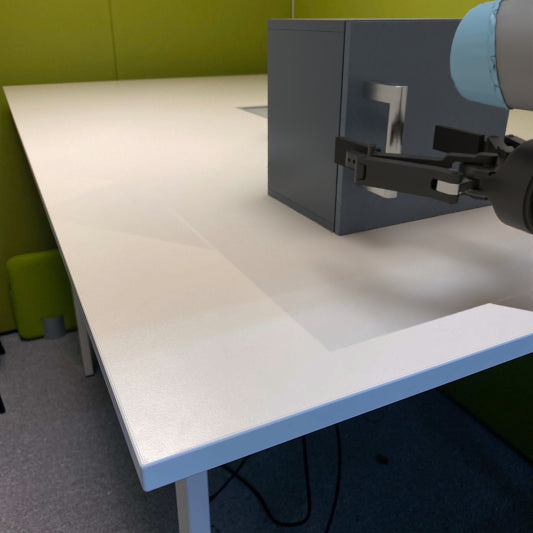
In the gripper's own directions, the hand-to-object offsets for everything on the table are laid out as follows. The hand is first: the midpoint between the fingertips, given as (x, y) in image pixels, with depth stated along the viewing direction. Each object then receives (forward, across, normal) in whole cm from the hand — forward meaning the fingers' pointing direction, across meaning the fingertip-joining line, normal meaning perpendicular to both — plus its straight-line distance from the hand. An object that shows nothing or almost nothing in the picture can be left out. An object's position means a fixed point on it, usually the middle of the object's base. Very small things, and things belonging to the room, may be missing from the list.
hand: (389, 142), depth 60 cm
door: (+2, +10, -12) cm, 16 cm away
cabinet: (+15, +10, -12) cm, 22 cm away
